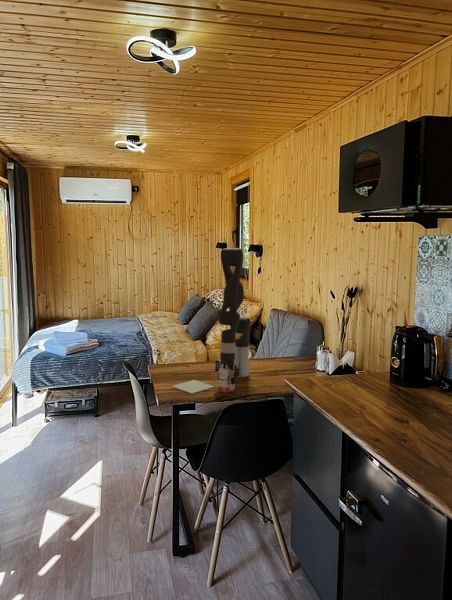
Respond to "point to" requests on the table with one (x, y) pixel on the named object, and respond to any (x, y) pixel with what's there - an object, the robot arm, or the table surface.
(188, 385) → the mat
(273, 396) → the table surface
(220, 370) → the ink box
